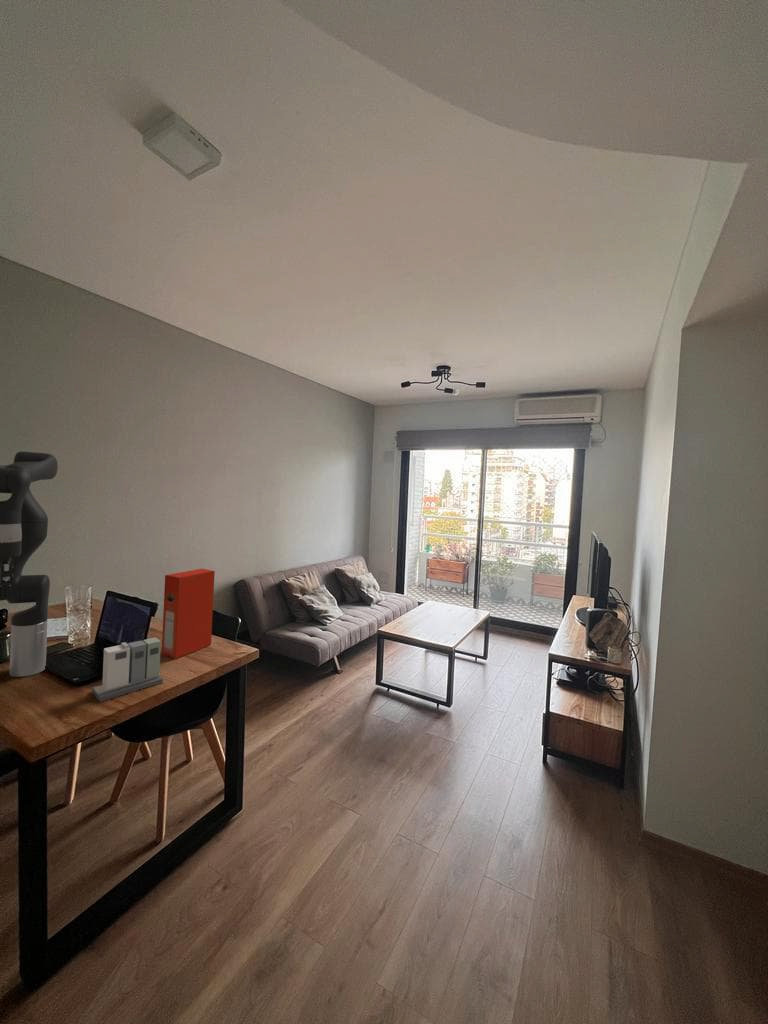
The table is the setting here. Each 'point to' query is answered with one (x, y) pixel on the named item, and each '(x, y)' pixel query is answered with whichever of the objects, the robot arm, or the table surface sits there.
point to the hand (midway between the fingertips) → (1, 596)
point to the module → (116, 666)
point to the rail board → (137, 669)
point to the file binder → (187, 612)
